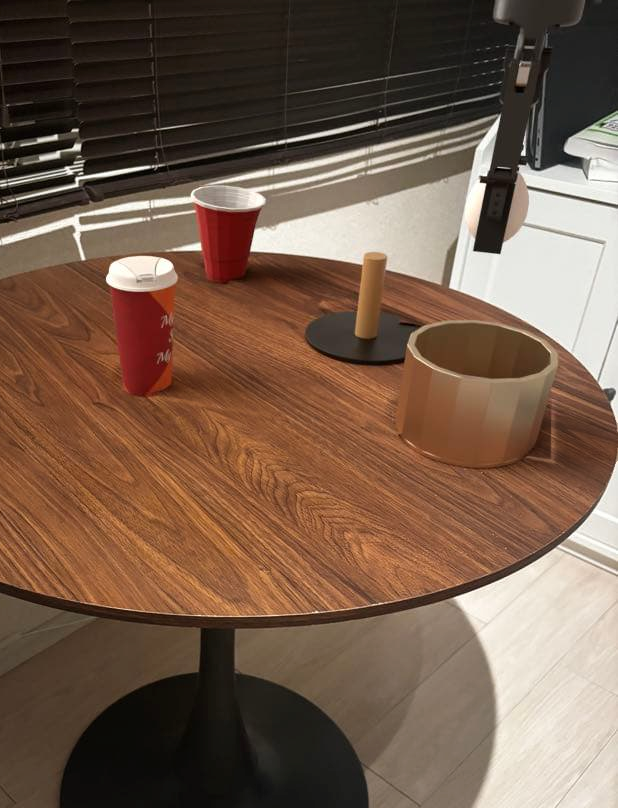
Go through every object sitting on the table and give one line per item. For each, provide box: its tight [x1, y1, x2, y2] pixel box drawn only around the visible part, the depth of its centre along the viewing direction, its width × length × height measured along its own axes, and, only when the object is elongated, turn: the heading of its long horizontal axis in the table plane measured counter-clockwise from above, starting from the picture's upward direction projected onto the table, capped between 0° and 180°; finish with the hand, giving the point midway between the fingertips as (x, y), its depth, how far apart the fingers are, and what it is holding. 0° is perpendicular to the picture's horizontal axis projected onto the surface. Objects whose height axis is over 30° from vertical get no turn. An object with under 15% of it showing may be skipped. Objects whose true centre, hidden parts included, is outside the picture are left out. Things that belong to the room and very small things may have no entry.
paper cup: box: [105, 255, 179, 398], centre depth 90 cm, size 8×8×14 cm
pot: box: [394, 319, 559, 469], centre depth 83 cm, size 14×14×10 cm
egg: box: [464, 167, 530, 244], centre depth 82 cm, size 6×6×8 cm
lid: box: [304, 251, 421, 366], centre depth 101 cm, size 15×15×11 cm
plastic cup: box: [190, 185, 267, 284], centre depth 119 cm, size 11×11×12 cm
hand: (489, 241), depth 84 cm, fingers closed on egg, 6 cm apart
